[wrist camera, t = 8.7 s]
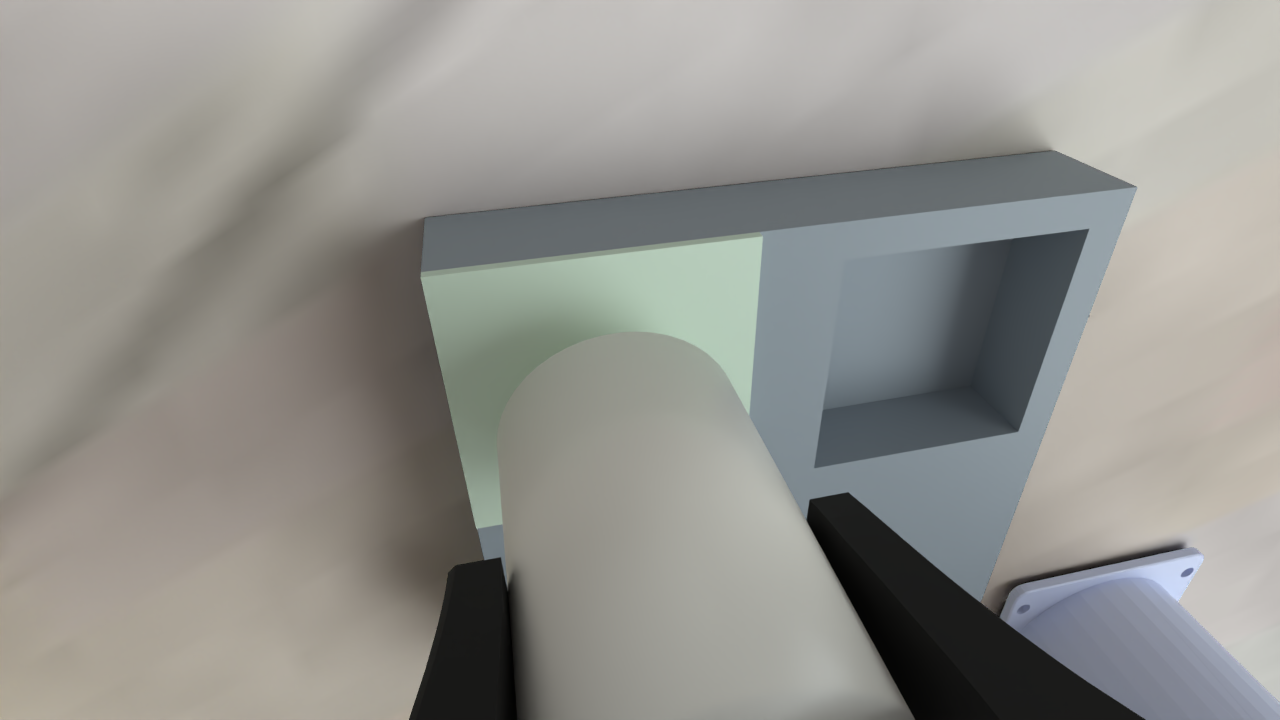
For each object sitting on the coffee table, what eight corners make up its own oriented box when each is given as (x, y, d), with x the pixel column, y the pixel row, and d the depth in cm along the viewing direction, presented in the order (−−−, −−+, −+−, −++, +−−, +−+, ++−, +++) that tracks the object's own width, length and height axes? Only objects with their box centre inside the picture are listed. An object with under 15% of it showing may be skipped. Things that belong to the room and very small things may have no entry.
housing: (937, 541, 24) (1014, 647, 20) (509, 628, 21) (520, 762, 18) (1055, 150, 16) (1205, 217, 13) (424, 217, 14) (417, 319, 11)
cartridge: (784, 395, 13) (1033, 785, 8) (643, 548, 15) (762, 971, 9) (590, 287, 11) (732, 716, 5) (449, 479, 13) (445, 971, 7)
